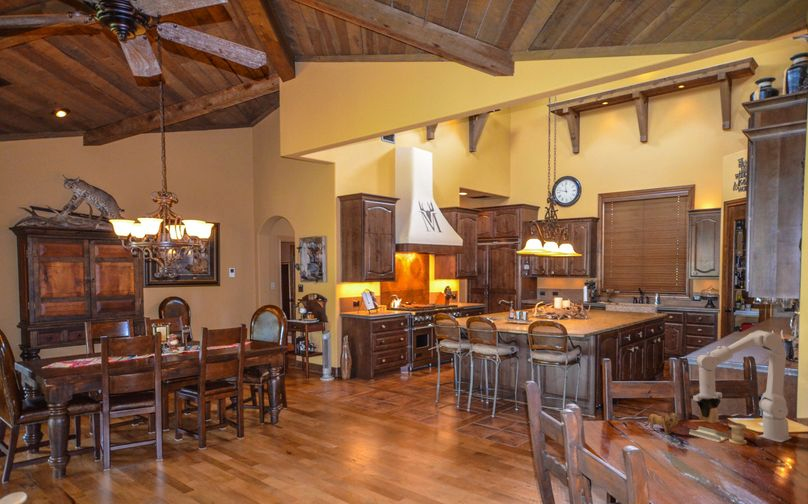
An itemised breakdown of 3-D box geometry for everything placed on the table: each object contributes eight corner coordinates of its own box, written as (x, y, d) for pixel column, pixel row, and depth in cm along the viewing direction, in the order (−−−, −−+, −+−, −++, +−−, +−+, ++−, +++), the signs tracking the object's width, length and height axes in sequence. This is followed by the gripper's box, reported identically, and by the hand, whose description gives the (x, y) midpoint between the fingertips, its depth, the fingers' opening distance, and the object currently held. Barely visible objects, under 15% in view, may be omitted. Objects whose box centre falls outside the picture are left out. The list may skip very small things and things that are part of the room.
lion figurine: (681, 434, 209) (680, 413, 209) (676, 437, 205) (675, 415, 206) (646, 426, 220) (646, 405, 220) (641, 428, 217) (640, 408, 217)
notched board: (700, 430, 213) (700, 425, 213) (730, 438, 203) (730, 433, 203) (689, 434, 209) (688, 429, 209) (718, 442, 198) (718, 437, 198)
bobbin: (733, 438, 202) (732, 421, 203) (749, 442, 197) (748, 425, 197) (725, 441, 199) (725, 424, 199) (742, 445, 194) (741, 428, 194)
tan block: (705, 417, 209) (704, 403, 210) (718, 421, 204) (718, 407, 204) (699, 418, 208) (698, 404, 208) (712, 423, 202) (712, 408, 203)
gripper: (703, 387, 200) (705, 421, 200) (728, 384, 205) (729, 416, 205) (688, 384, 207) (689, 416, 206) (712, 380, 212) (713, 412, 211)
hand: (708, 416), depth 206 cm, fingers closed on tan block, 3 cm apart
